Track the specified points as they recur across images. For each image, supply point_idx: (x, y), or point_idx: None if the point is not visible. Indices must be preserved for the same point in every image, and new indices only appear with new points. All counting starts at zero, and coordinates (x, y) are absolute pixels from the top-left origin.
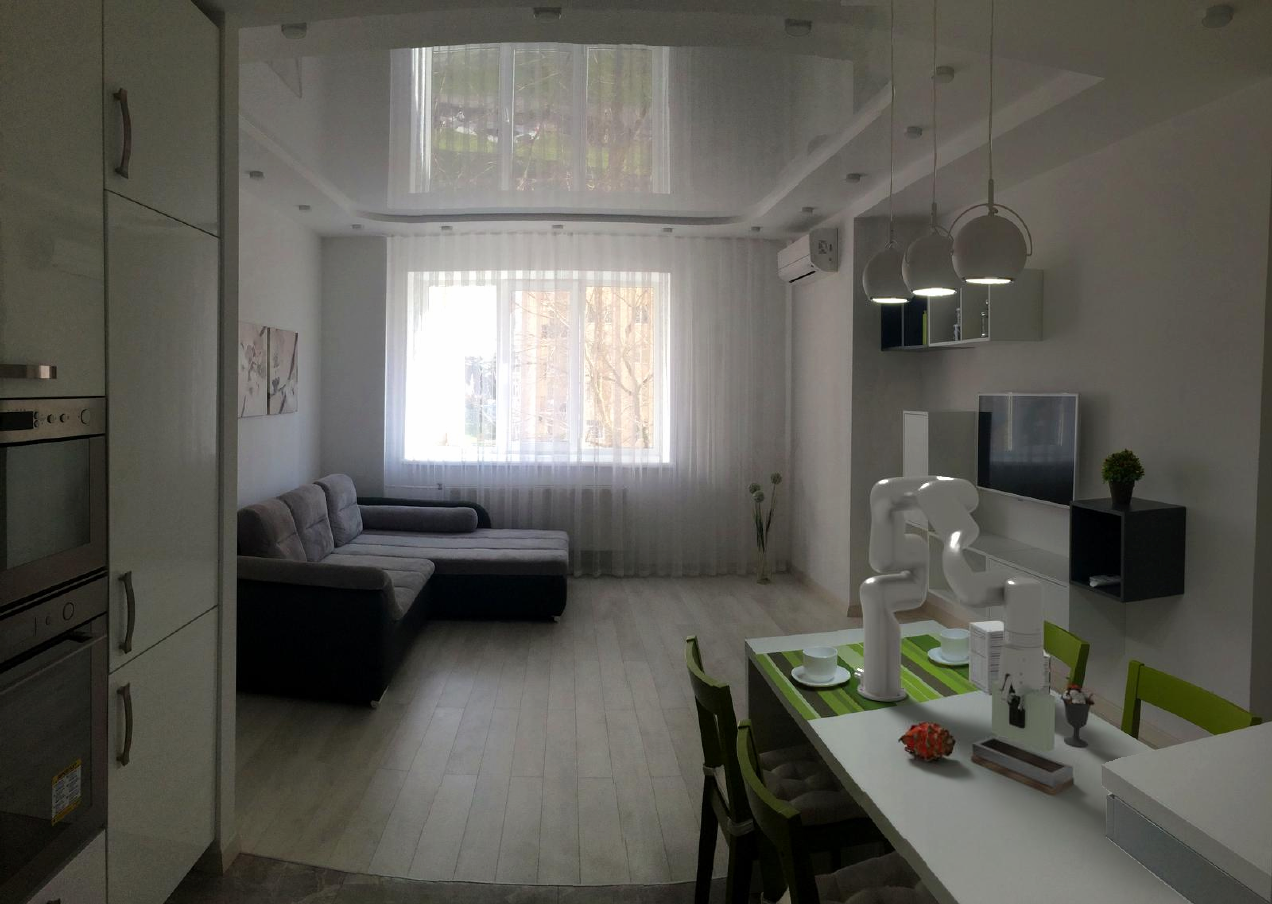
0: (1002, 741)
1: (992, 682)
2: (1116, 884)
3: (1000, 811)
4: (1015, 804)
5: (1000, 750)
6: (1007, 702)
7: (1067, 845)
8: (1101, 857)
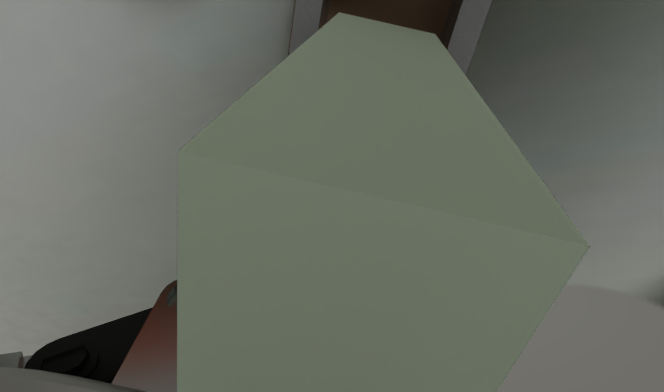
0: (459, 24)
1: (182, 153)
2: None
3: (51, 165)
4: (125, 183)
5: (452, 8)
6: (85, 333)
7: (67, 314)
8: None
